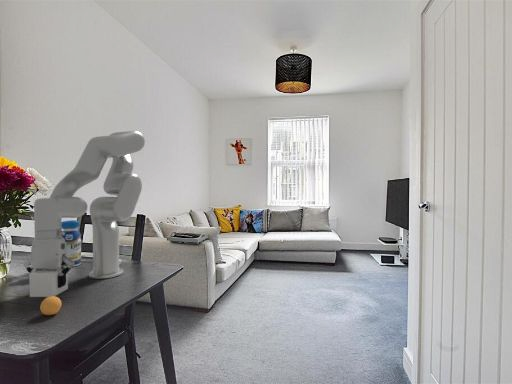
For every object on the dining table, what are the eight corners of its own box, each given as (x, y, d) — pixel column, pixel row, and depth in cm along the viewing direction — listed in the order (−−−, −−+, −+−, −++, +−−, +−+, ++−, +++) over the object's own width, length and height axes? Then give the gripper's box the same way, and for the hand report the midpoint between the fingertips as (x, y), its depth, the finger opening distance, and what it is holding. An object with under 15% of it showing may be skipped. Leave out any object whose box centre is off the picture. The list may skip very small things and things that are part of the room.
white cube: (46, 288, 107) (45, 266, 107) (68, 288, 107) (67, 266, 107) (29, 296, 100) (29, 273, 99) (53, 296, 100) (53, 273, 99)
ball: (48, 310, 89) (48, 293, 89) (65, 310, 89) (65, 293, 89) (35, 318, 84) (35, 300, 84) (54, 318, 84) (53, 300, 84)
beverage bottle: (67, 262, 143) (67, 220, 142) (85, 262, 142) (85, 220, 142) (55, 267, 134) (54, 222, 134) (74, 267, 134) (73, 222, 133)
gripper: (80, 233, 106) (81, 282, 107) (30, 232, 106) (31, 282, 107) (67, 236, 99) (68, 290, 99) (13, 236, 99) (14, 290, 99)
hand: (49, 286), depth 103 cm, fingers closed on white cube, 7 cm apart
